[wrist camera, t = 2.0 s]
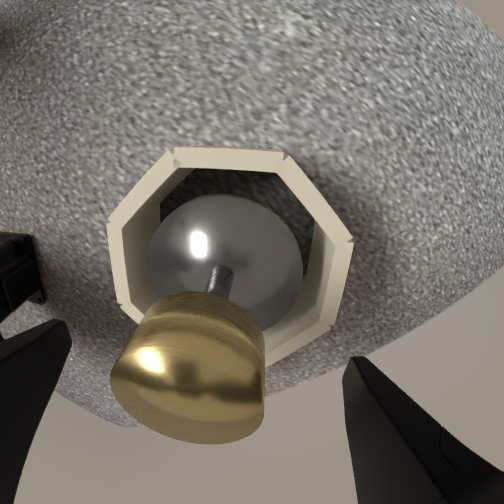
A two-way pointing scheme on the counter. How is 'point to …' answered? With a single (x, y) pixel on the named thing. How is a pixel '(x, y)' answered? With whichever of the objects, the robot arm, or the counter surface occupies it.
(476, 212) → the counter surface
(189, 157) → the cream octagonal ring
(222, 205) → the plunger
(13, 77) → the counter surface
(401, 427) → the robot arm
